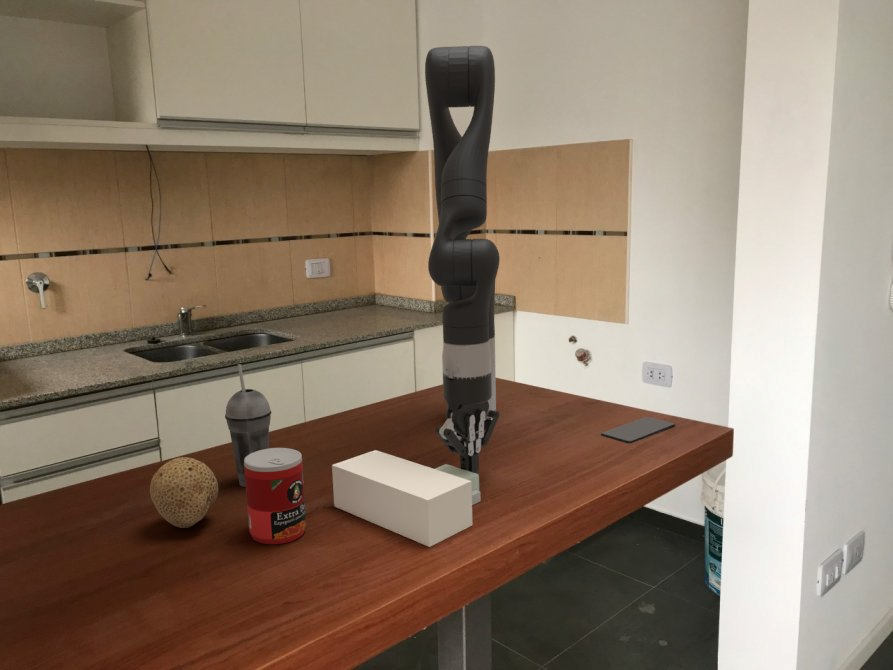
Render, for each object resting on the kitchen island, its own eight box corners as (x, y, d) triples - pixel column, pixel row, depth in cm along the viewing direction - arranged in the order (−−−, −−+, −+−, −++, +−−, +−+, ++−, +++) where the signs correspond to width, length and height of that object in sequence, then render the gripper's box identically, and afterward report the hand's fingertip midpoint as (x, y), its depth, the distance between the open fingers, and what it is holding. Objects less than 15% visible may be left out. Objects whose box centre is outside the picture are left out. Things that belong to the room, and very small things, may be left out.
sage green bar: (370, 513, 106) (369, 494, 105) (446, 481, 117) (446, 464, 117) (403, 527, 101) (403, 507, 101) (479, 492, 113) (478, 474, 112)
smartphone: (599, 433, 138) (646, 415, 148) (599, 437, 138) (646, 420, 148) (629, 441, 133) (676, 423, 142) (629, 446, 133) (676, 427, 143)
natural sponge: (184, 508, 109) (178, 445, 108) (234, 515, 106) (228, 450, 105) (140, 534, 101) (133, 466, 99) (193, 543, 98) (186, 472, 96)
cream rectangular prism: (334, 506, 109) (331, 465, 108) (409, 476, 120) (407, 438, 119) (429, 547, 95) (428, 500, 94) (504, 509, 106) (503, 466, 105)
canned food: (279, 550, 95) (273, 471, 93) (236, 537, 100) (230, 460, 98) (318, 528, 102) (314, 453, 100) (277, 516, 106) (272, 444, 104)
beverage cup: (285, 477, 121) (277, 359, 117) (256, 493, 114) (247, 369, 111) (250, 471, 124) (241, 356, 120) (220, 486, 117) (210, 366, 114)
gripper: (476, 358, 119) (479, 458, 123) (419, 374, 110) (423, 482, 113) (512, 364, 114) (514, 468, 118) (456, 382, 105) (459, 494, 108)
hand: (469, 475), depth 116 cm, fingers closed
